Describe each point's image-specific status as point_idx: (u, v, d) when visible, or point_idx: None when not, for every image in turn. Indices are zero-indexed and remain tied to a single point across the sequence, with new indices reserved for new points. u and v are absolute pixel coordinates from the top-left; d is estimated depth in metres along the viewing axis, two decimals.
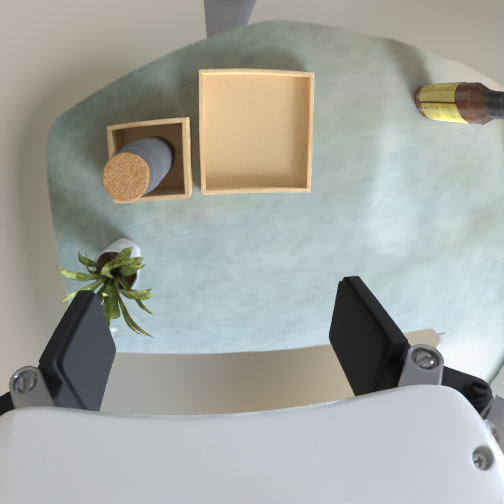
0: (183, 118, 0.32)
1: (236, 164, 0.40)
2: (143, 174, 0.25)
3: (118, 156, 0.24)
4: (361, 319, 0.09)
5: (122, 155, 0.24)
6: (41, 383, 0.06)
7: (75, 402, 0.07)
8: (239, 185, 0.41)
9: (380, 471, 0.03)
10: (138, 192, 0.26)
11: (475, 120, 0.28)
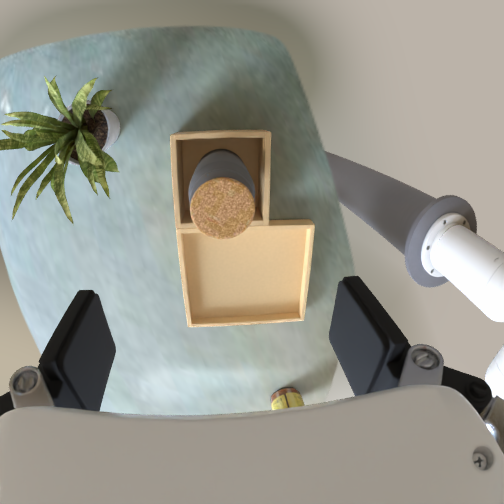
0: (267, 222, 0.33)
1: (209, 258, 0.39)
2: (225, 233, 0.22)
3: (251, 203, 0.21)
4: (361, 319, 0.09)
5: (252, 208, 0.21)
6: (41, 383, 0.06)
7: (75, 402, 0.07)
8: (186, 262, 0.39)
9: (380, 471, 0.03)
10: (202, 226, 0.22)
11: None
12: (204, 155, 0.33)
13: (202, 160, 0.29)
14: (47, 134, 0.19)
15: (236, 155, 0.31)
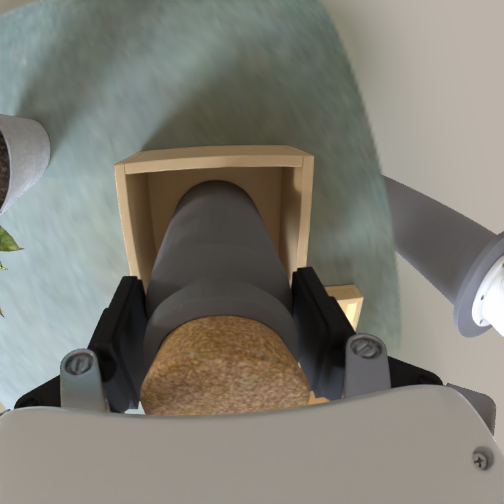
0: None
1: None
2: None
3: (302, 394, 0.07)
4: (307, 307, 0.10)
5: (302, 402, 0.07)
6: (98, 364, 0.07)
7: (125, 384, 0.08)
8: None
9: (380, 471, 0.03)
10: None
11: None
12: (186, 193, 0.18)
13: (178, 214, 0.15)
14: None
15: (244, 196, 0.17)
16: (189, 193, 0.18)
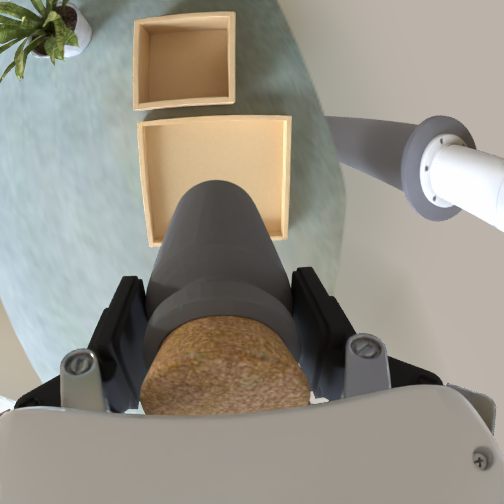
0: (233, 98, 0.26)
1: (173, 159, 0.33)
2: None
3: (302, 394, 0.07)
4: (307, 307, 0.10)
5: (302, 402, 0.07)
6: (98, 364, 0.07)
7: (125, 384, 0.08)
8: (149, 165, 0.33)
9: (380, 471, 0.03)
10: None
11: None
12: (186, 193, 0.18)
13: (178, 214, 0.15)
14: (19, 13, 0.12)
15: (244, 196, 0.17)
16: (189, 193, 0.18)
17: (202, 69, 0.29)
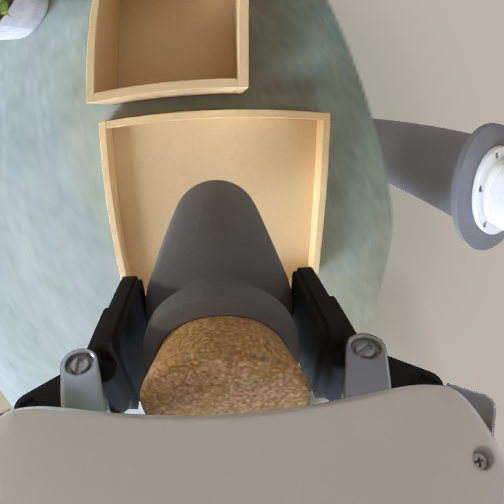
0: (246, 81, 0.16)
1: (153, 176, 0.22)
2: None
3: (302, 394, 0.07)
4: (307, 307, 0.10)
5: (302, 402, 0.07)
6: (98, 364, 0.07)
7: (125, 384, 0.08)
8: (119, 184, 0.22)
9: (380, 471, 0.03)
10: None
11: None
12: (186, 193, 0.18)
13: (178, 214, 0.15)
14: None
15: (244, 196, 0.17)
16: (189, 193, 0.18)
17: (197, 42, 0.18)
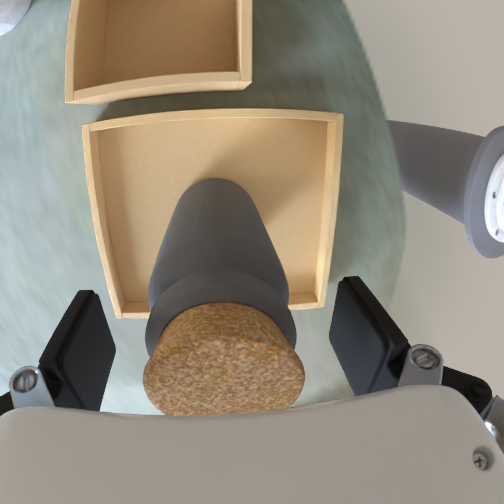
0: (249, 75, 0.13)
1: (144, 184, 0.19)
2: None
3: (297, 377, 0.08)
4: (361, 319, 0.09)
5: (297, 385, 0.08)
6: (41, 383, 0.06)
7: (75, 402, 0.07)
8: (105, 194, 0.19)
9: (380, 471, 0.03)
10: None
11: None
12: (186, 191, 0.19)
13: (179, 211, 0.15)
14: None
15: (242, 193, 0.18)
16: (189, 191, 0.18)
17: (192, 33, 0.15)
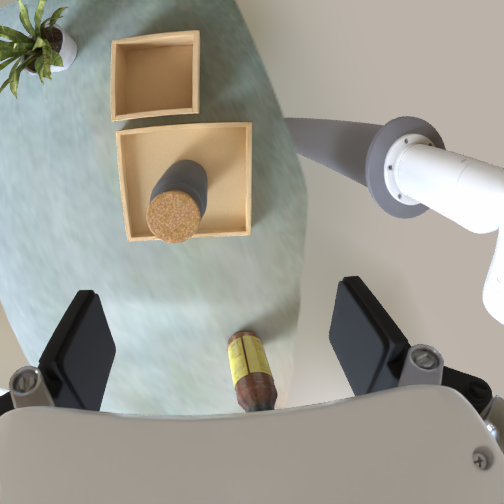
0: (196, 109, 0.30)
1: (148, 163, 0.36)
2: (176, 238, 0.25)
3: (196, 212, 0.25)
4: (361, 319, 0.09)
5: (197, 216, 0.25)
6: (41, 383, 0.06)
7: (75, 402, 0.07)
8: (126, 168, 0.36)
9: (380, 471, 0.03)
10: (157, 232, 0.25)
11: (238, 395, 0.40)
12: (170, 166, 0.36)
13: (165, 172, 0.32)
14: (12, 37, 0.16)
15: (197, 166, 0.35)
16: (171, 165, 0.35)
17: (173, 82, 0.32)
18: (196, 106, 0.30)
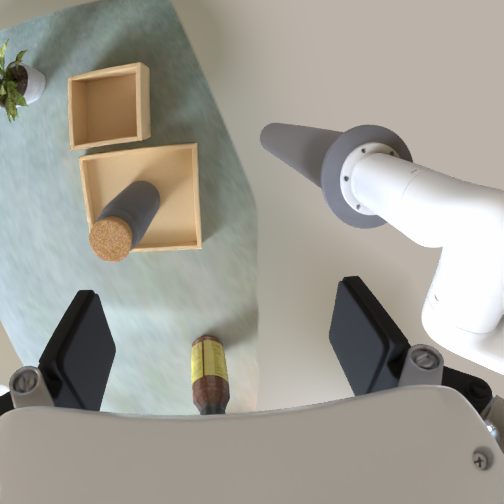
0: (141, 137, 0.33)
1: (108, 184, 0.39)
2: (114, 258, 0.28)
3: (127, 236, 0.27)
4: (361, 319, 0.09)
5: (128, 240, 0.28)
6: (41, 383, 0.06)
7: (75, 402, 0.07)
8: (91, 189, 0.39)
9: (380, 471, 0.03)
10: (98, 253, 0.28)
11: (193, 395, 0.42)
12: None
13: None
14: None
15: (147, 187, 0.38)
16: (126, 187, 0.38)
17: (126, 109, 0.35)
18: (140, 134, 0.32)
